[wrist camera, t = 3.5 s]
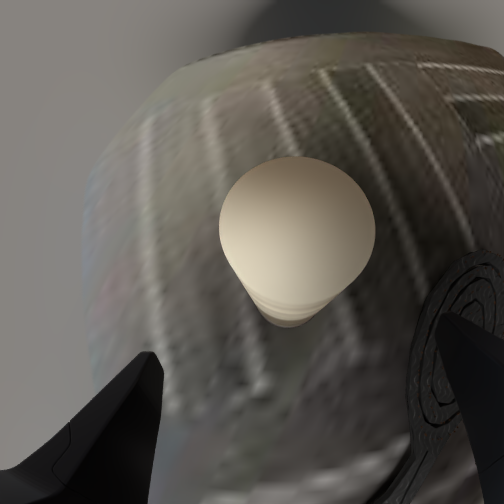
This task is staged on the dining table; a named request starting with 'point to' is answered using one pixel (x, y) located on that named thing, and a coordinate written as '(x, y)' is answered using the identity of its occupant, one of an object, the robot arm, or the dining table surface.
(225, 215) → the cream ridged cylinder
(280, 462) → the dining table surface
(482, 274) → the hairbrush
